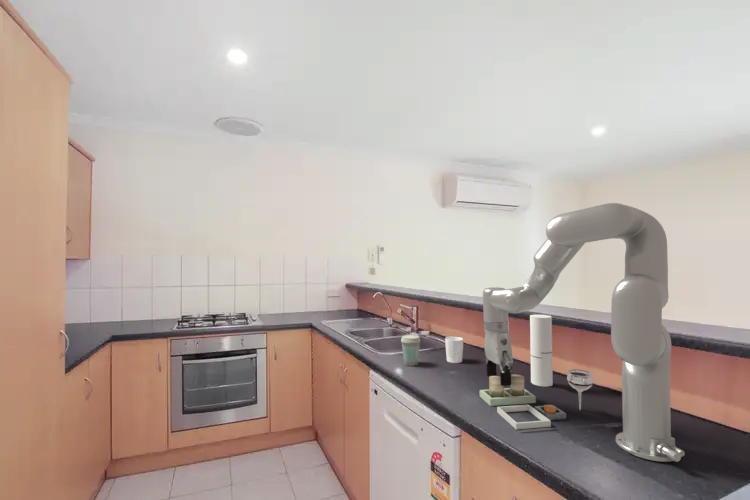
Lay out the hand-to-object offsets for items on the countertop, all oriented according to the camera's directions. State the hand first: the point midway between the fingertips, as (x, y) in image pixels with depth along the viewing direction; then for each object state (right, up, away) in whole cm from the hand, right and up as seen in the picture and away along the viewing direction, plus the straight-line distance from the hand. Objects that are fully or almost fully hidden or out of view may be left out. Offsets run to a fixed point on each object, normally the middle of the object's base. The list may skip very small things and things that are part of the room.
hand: (498, 380), depth 119 cm
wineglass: (+22, -7, -8) cm, 24 cm away
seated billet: (+7, -6, +1) cm, 9 cm away
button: (+11, -6, -11) cm, 17 cm away
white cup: (-4, -8, +47) cm, 48 cm away
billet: (0, -6, 0) cm, 6 cm away
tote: (+3, -7, -13) cm, 15 cm away
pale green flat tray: (+3, -7, +1) cm, 8 cm away
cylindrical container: (+21, -8, +16) cm, 27 cm away
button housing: (+11, -7, -11) cm, 17 cm away
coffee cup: (-24, -8, +44) cm, 50 cm away
